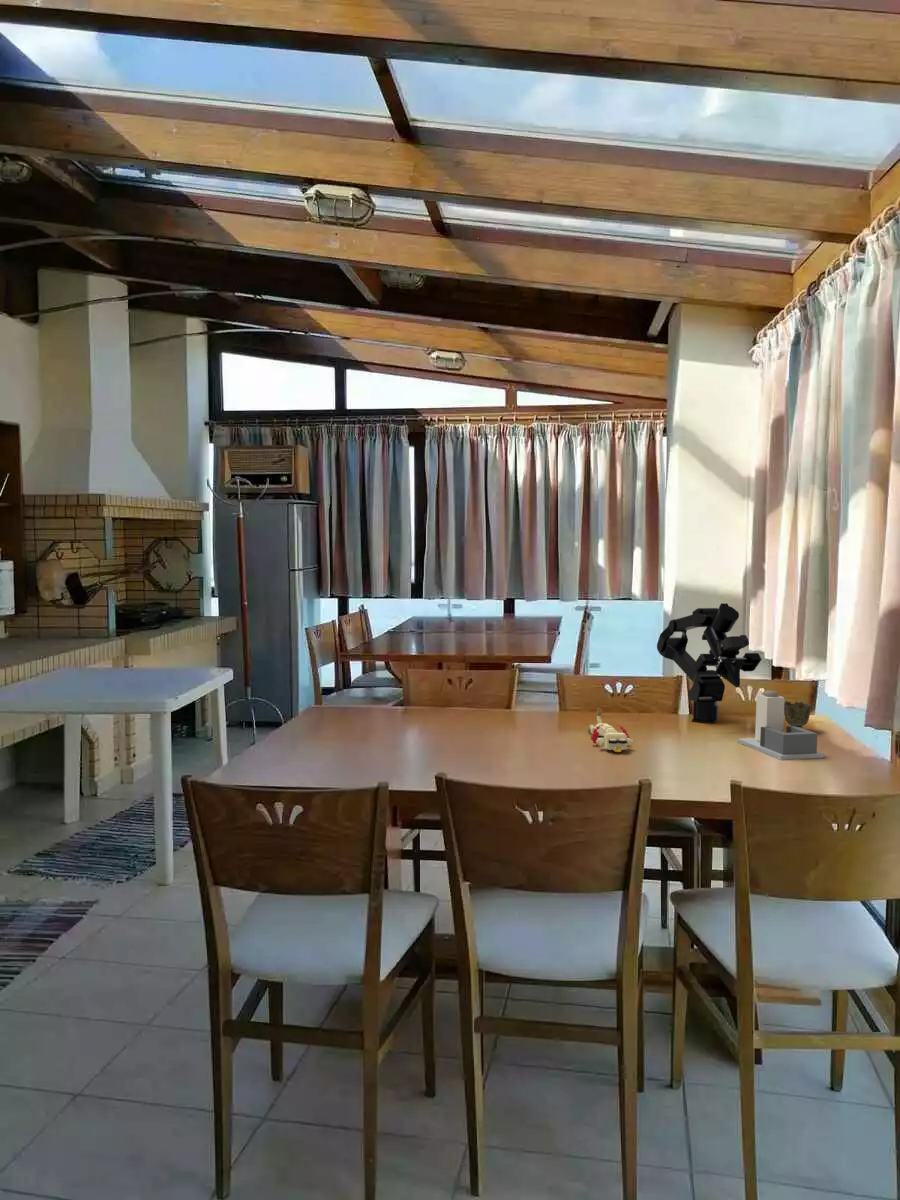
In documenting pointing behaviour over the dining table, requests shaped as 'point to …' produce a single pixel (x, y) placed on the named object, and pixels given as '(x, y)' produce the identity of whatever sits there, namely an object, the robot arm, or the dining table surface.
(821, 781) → the dining table surface
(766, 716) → the beige block
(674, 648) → the robot arm
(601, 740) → the cream blocky figure
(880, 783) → the dining table surface
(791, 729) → the socket
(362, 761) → the dining table surface
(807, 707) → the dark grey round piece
